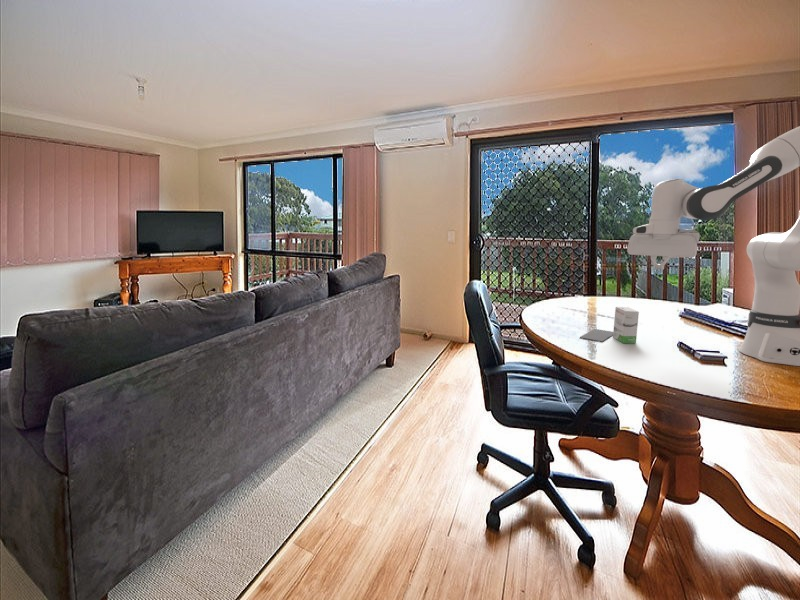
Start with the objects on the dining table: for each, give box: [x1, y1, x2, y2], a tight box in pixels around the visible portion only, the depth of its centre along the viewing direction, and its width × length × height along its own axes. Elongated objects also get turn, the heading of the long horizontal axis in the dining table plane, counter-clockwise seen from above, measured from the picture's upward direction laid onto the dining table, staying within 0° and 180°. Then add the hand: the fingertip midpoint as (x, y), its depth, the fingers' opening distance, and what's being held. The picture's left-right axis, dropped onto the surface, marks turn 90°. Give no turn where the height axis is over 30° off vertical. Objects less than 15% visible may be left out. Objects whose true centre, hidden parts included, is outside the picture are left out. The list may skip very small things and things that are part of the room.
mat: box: [579, 328, 613, 343], centre depth 157 cm, size 8×16×1 cm, turn 137°
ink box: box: [612, 306, 640, 344], centre depth 149 cm, size 9×5×12 cm, turn 175°
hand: (658, 269), depth 142 cm, fingers closed
